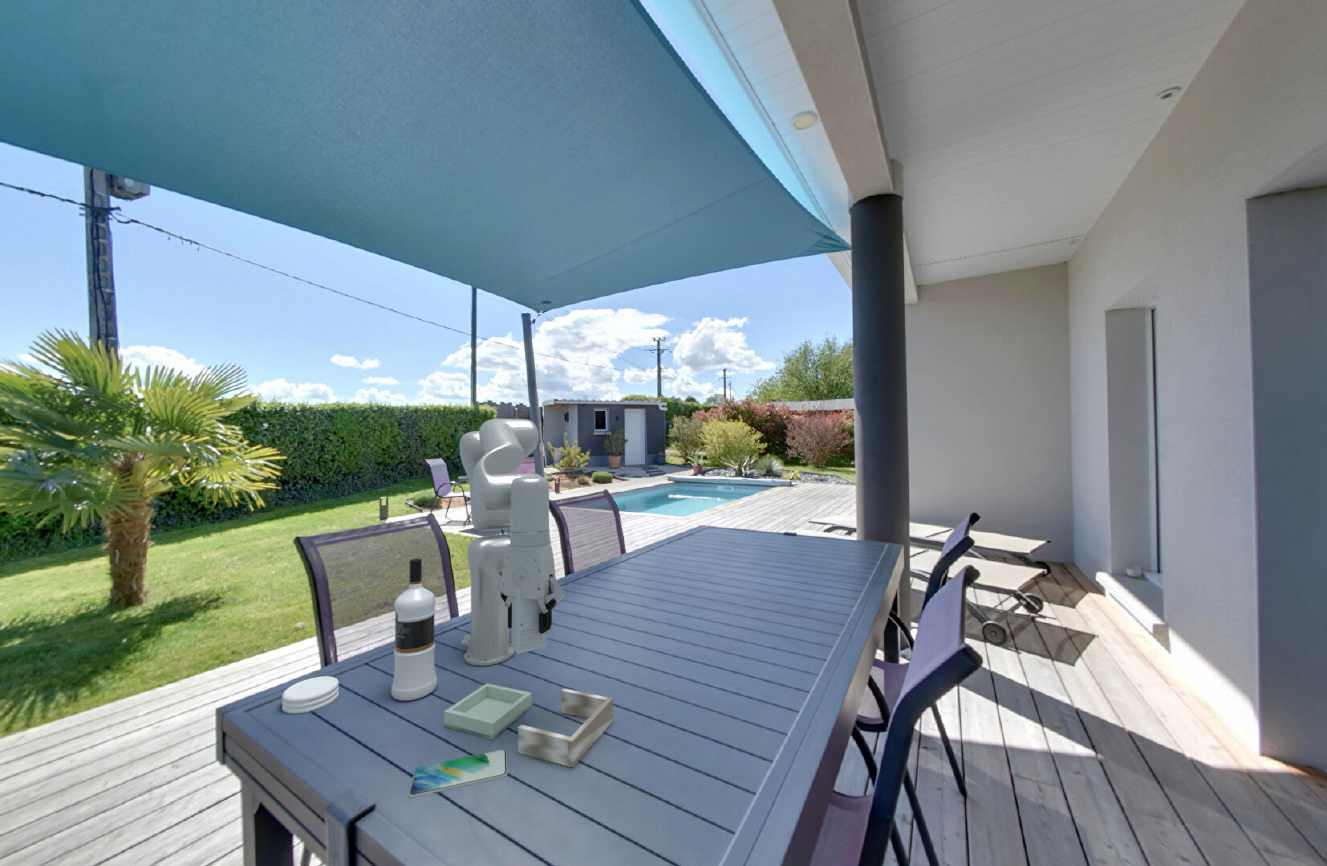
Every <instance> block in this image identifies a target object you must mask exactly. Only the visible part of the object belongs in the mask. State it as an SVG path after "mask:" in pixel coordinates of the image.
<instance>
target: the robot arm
mask: <svg viewBox="0 0 1327 866" xmlns="http://www.w3.org/2000/svg"><path fill="white" fill-rule="evenodd" d="M537 427H538V426H536V424H535V423H534V422H533V421H532V420H530V419H527V418H525V419H524V418H492V419H489V420H486V421H485V422H484V423H482V424H481V426H480V427H479V429H478V430H474V431H469V432H467V433H465V434H463V435H462V436H461V438H460V440H459V455H460V460H461V463H462V467H463V468H464V472H465V474H466V475H467V479H468V482H469V483H468V484H469V498H470V514H471V522H472V525H473V528H474V529H475V530H477V531H480V532H481V531H482V532H490V531H502V530H508V531H507V533H501V534H492V535H483V536H480V537H477V538H475V539H473V540H472V541H470V543H469V544H468V547H467V554H466V555H467V562H468V568H469V569H468V570H469V576H470V634H465V636H463V639H462V640H461V642H460V644H461V645H462V646H465V647H467V651H465V653H464V657H463V658H464V662H466V663H467V664H468V665H472V666H478V667H479V666H480V667H481V666H484V667H485V666H491V665H497V664H500V663H503V662H505V661H507V660H509V659H511V658H512V657H513V656H514V655H515V653H516V652H515V650H514V649H513V648H512V646H511V645H512V643H510V641H509V639H510V635H509V634H510V629H512V597H513V598H516V597H517V596H516V595H517V590H521V591H522V598H523V599H527V600H536V601H538V603H539V605H540V608H541V611H542V612H541V613H539V633H540V634H543V633H545V632H546V631H547V632H548V631H550V630H551V628H552V625H553V624H552V623H553V620H552V619H553V616H552V615H553V612H552V611H553V609H555V607H556V606H557V605H558V604H559V603H560V601H561V600H562V599H563V598H564V597H565V596H566V591H565V590H564V589H563V588H562V587H561V585H560V584H559V583H558V581H556V566H555V559H554V558H555V557H554V552H553V548H552V545H551V544H550V483H549V480H548V478H546V477H543V476H541V475H540V474H538V473H533V472H531V473H513V472H515V471H517V470H518V468H520V467H521V465H522V464H523V463H524V461H525V459H526V458H527V457H529V455H531V454H532V453H533V452H534V451H535V450H536V448H537V447H538V445H539V437H540V436H539V430H538V428H537ZM500 572H502V573H501V575H500V574H499V573H500ZM552 594H554V595H553V597H552ZM544 598H545V599H544ZM545 600H546V602H545ZM546 603H547V604H546Z"/></svg>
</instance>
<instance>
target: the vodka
mask: <svg viewBox="0 0 1327 866" xmlns="http://www.w3.org/2000/svg"><path fill="white" fill-rule="evenodd" d="M408 563H409V566H408V567H409V571H408V572H409V578H408V579H409V583H408V589H407V590H405V591H404V592H402V593H400V595H399V596H397V598H396V599H395V601H394V604H393V606H394V615H395V616H394V651H393V655H394V669H393V670H394V671H393V680H392V683H391V691H390V692H391V693H390V694H391V696H392V698H393V699H395V700H398V701H401V702H410V701H411V702H412V701H415V700H419V699H422V698H424V697H426V696H428V695H430V694H431V693H432V692H434V690H436V688H437V686H438V675H437V672H436V662H435V652H436V651H435V648H436V643H435V613H436V600H437V599H436V596H435V594H434V593H433V592H432V591H430V590H429V589H427V588H425V587H423V586H422V585H423V581H422V580H423V570H422V568H423V566H422V565H423V559H422V558H418V557H417V558H411V559H409V562H408Z"/></svg>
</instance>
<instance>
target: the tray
mask: <svg viewBox="0 0 1327 866" xmlns="http://www.w3.org/2000/svg"><path fill="white" fill-rule="evenodd" d="M532 698H533V693H532V692H529V691H525V690H520V689H514V688H510V687H506V686H502V685H496V684H493V683H488V682H487V683H485V684H483V685H482V686H480V687H479V688H478V689H476V690H475V691H473V692H472V693H470V694H468V695H467V696H465V697H464V698H463V699H461V700H459V701H458V702H456V703H454V704H453V705H451V706H449V708H447V709H446V710H444V711H443V713H444V714H443V715H444V717H443V718H444V719H443V720H444V721H443V722H444V723H443V726H444V728H447V729H451V730H454V731H460V732H462V733H465V734H470V735H474V736H477V737H481V738H484V739H488V740H492V741H493V740H495V738H497V737H498V736H499V735H500V734H502V733H503V732H504V731H505V730H506V729H508V728H509V727H510V726H512V724H514V723H515V722H516V721H517V720H519V718H521V717H522V716H523V715H525V714H526V713H527V712H528V711H529V710H530V709H532V708H533V699H532ZM531 707H532V708H531ZM529 708H530V709H529ZM528 709H529V710H528ZM527 710H528V711H527ZM526 711H527V712H526ZM525 712H526V713H525ZM521 715H522V716H521Z"/></svg>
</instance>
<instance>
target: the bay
mask: <svg viewBox="0 0 1327 866" xmlns="http://www.w3.org/2000/svg"><path fill="white" fill-rule="evenodd" d="M560 693H561V694H560V695H561V699H560V701H561V702H560V704H561V705H560V708H561V712H560V713H563V714H567V715H571V716H574V715H575V716H576V717H578V718H583V719H584V718H585V719H586V720H585V721H584V723H583V724H581V726H579V728H577V730H576V731H575V732H574V733H573V734H572V735H571V736H568V735H566V734H561V733H557V732H554V731H553V732H552V731H549V730H546V729H541V728H538V727H532V726H528V725H524V724H521V725H519V726H518V727H517V753H518V754H521V755H524V756H528V757H531V758H535V759H540V760H542V759H543V760H542V761H546V762H549V761H550V763H553V762H554V764H557V763H559V764H558V765H560V764H562V765H561V766H564V765H565V766H564V767H567V766H568V767H569V768H571V767H573V768H575V766H577V764H578V762H580V760H581V759H582V758H583V757H584V755H585V754H586V753H587V752H588V750H590V749H591V747H592V746H593V745H594V744H595V743H596V741H597V740H598V739H599V738H600V737H601V735H603V733H604V732H605V731H606V730H607V729H608V727H609V726H610V725H611V723H613V722H614V716H613V715H614V711H613V709H614V707H613V706H614V704H613V703H614V702H613V701H614V700H613V699H614V698H613V697H607V696H602V695H597V694H592V693H588V692H583V691H579V690H578V691H577V690H572V689H569V688H562V689H561V690H560ZM593 743H594V744H593Z"/></svg>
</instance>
